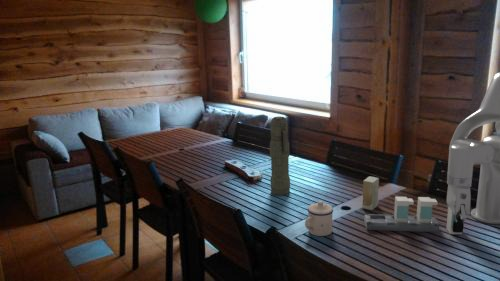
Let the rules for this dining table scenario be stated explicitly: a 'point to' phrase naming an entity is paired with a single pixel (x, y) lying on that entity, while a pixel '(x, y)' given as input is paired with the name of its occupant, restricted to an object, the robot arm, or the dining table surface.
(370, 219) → the rail
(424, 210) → the cream block teal side
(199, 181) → the dining table surface
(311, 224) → the teacup with lid
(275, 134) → the thermos
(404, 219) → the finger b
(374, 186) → the skincare box
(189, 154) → the dining table surface
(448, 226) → the finger loose
